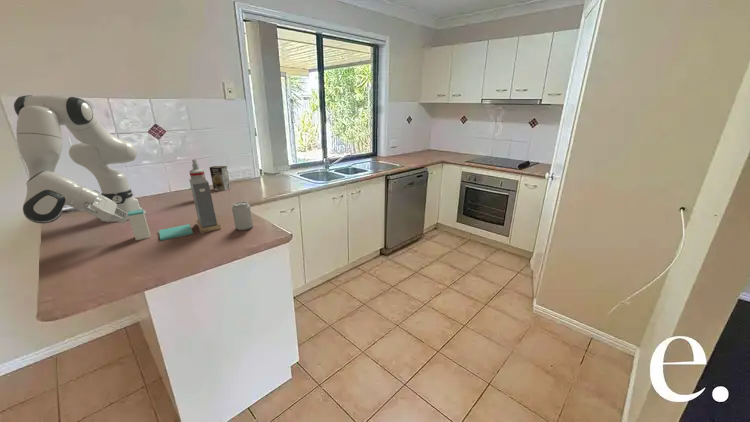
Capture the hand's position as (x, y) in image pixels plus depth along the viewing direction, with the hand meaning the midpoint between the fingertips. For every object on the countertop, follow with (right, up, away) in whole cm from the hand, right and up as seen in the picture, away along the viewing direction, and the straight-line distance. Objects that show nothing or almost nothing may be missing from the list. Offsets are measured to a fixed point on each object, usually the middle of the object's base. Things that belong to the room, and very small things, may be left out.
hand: (125, 218), depth 126 cm
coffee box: (-3, +18, +85) cm, 87 cm away
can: (+45, -5, +13) cm, 47 cm away
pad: (+15, -7, +9) cm, 19 cm away
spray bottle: (-2, +10, +60) cm, 61 cm away
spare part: (+3, -8, +5) cm, 10 cm away
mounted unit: (+26, -4, +16) cm, 31 cm away
